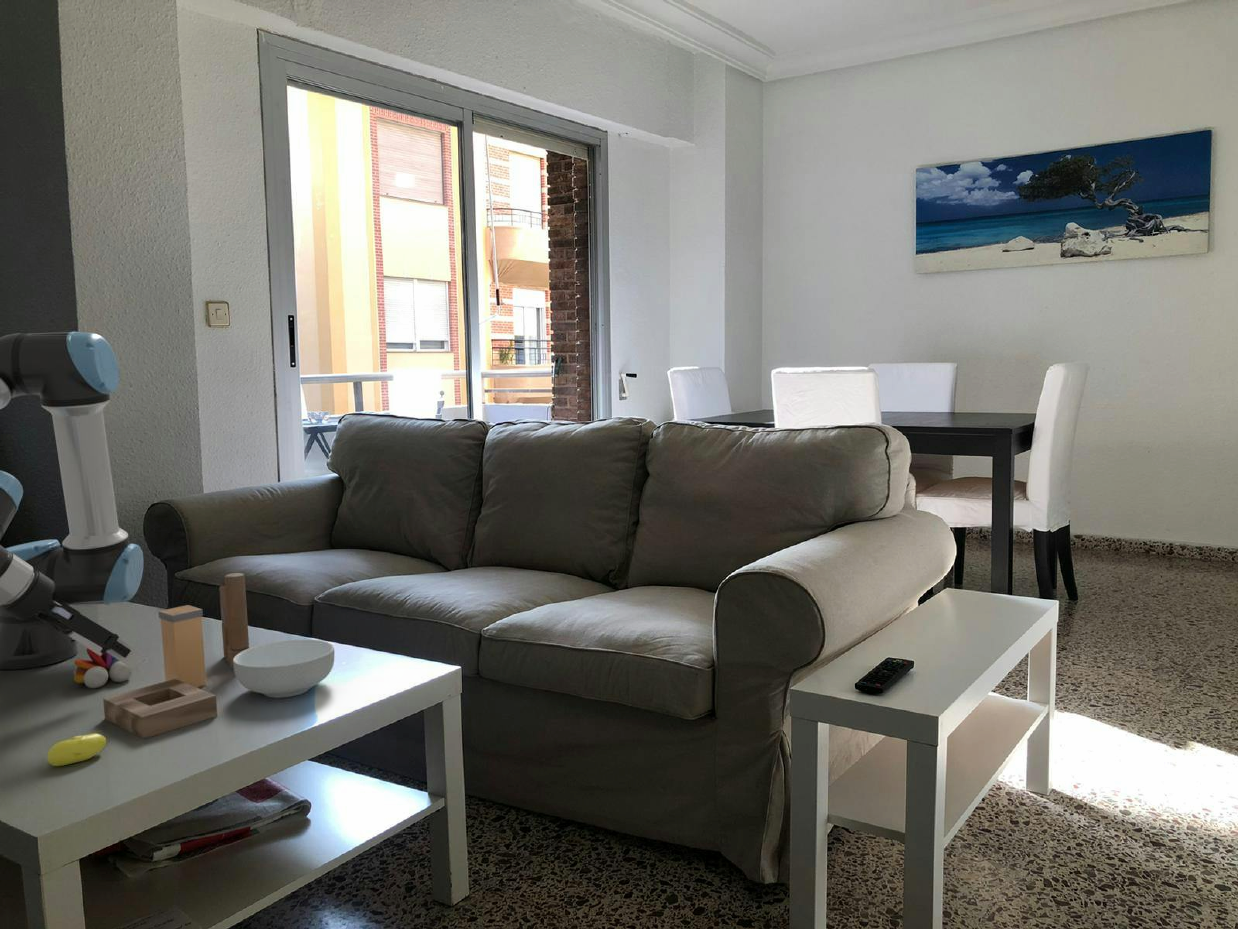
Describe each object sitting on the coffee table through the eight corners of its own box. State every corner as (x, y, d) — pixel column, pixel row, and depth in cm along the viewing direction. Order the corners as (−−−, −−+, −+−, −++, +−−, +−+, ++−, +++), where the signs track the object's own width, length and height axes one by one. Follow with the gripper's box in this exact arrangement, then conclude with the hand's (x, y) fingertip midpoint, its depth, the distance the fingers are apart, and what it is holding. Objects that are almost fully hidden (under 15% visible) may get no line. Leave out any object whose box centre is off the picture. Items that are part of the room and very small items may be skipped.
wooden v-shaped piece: (242, 653, 193) (237, 565, 191) (252, 667, 184) (246, 575, 182) (223, 656, 192) (217, 567, 190) (232, 671, 182) (225, 577, 180)
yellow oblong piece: (44, 765, 141) (41, 740, 141) (103, 749, 147) (101, 724, 146) (52, 773, 138) (49, 747, 138) (112, 756, 144) (110, 731, 143)
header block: (104, 719, 159) (103, 698, 158) (176, 698, 168) (175, 678, 168) (143, 739, 150) (142, 717, 149) (217, 715, 159) (215, 695, 159)
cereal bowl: (341, 671, 181) (339, 635, 180) (330, 702, 164) (328, 662, 163) (246, 678, 178) (243, 641, 177) (225, 711, 161) (222, 670, 161)
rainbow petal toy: (67, 683, 177) (64, 645, 177) (122, 670, 184) (119, 633, 184) (84, 693, 172) (80, 654, 171) (140, 679, 179) (137, 641, 178)
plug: (164, 686, 174) (158, 611, 173) (193, 678, 178) (188, 604, 177) (178, 693, 171) (172, 616, 169) (207, 684, 175) (202, 609, 173)
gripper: (-29, 596, 158) (76, 661, 171) (30, 620, 143) (141, 689, 156) (5, 559, 162) (105, 625, 175) (66, 578, 146) (171, 649, 159)
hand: (122, 656), depth 165 cm, fingers open, 13 cm apart
